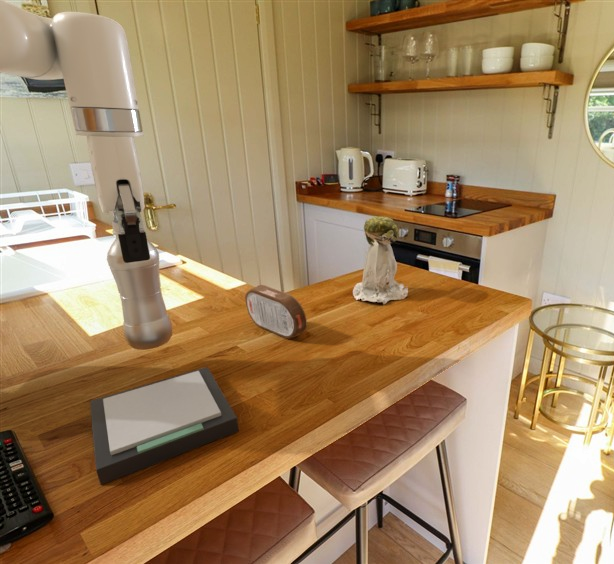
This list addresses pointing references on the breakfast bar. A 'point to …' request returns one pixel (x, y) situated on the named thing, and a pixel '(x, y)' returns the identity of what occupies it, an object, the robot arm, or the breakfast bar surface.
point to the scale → (158, 422)
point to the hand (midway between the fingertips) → (133, 253)
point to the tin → (276, 311)
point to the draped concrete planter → (380, 263)
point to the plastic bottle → (140, 297)
